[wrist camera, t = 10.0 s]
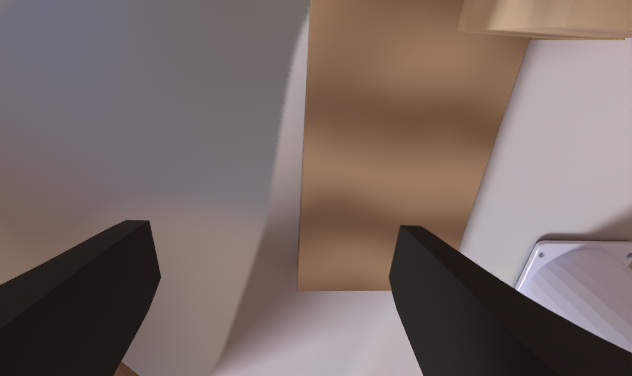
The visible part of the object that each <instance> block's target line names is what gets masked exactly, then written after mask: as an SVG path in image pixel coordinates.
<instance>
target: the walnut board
mask: <svg viewBox="0 0 632 376" xmlns="http://www.w3.org/2000/svg"><path fill="white" fill-rule="evenodd" d="M463 3H464V0H310V19H309V39H308V59H307V79H306V99H305V119H304V139H303V159H302V179H301V200H300V220H299V240H298V260H297V291H392V290H391V286H390V282H389V278H388V277H389V273H390V268H391V264H392V259H393V255H394V251H395V246H396V242H397V237H398V233H399V228H400V225H420V226H422V227H423V228H425V229H427V230H428V231H430V232H431V233H433V234H434V235H436V236H437V237H439V238H440V239H442V240H443V241H444V242H446V243H447V244H449V245H450V246H452V247H453V248H454V249H456V250H457V251H458V248H459V245H460V242H461V239H462V236H463V233H464V230H465V227H466V224H467V221H468V219H469V216H470V213H471V210H472V207H473V204H474V201H475V198H476V195H477V192H478V189H479V186H480V183H481V180H482V177H483V174H484V171H485V169H486V166H487V163H488V160H489V157H490V154H491V151H492V148H493V145H494V142H495V139H496V136H497V133H498V130H499V127H500V124H501V121H502V118H503V116H504V113H505V110H506V107H507V104H508V101H509V98H510V95H511V92H512V89H513V86H514V83H515V80H516V77H517V74H518V71H519V68H520V66H521V63H522V60H523V57H524V54H525V51H526V48H527V45H528V42H529V39H530V37H519V36H507V35H494V34H482V33H469V32H457V28H458V24H459V20H460V16H461V12H462V7H463Z"/></svg>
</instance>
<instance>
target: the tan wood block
mask: <svg viewBox="0 0 632 376" xmlns="http://www.w3.org/2000/svg"><path fill="white" fill-rule="evenodd" d="M457 32H469V33H482V34H494V35H507V36H519V37H530V40H625V38H632V0H464V3H463V7H462V12H461V16H460V20H459V24H458V28H457Z"/></svg>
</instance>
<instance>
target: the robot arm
mask: <svg viewBox="0 0 632 376" xmlns="http://www.w3.org/2000/svg"><path fill="white" fill-rule="evenodd" d="M631 261H632V242H622V241H550V240H544V241H540V242H538V243H537V244H536V245H535V247H534V249H533V251H532V253H531V255H530V257H529V259H528V262H527V264H526V266H525V268H524V270H523V272H522V274H521V276H520V278H519V280H518V283H517V285H516V287H515V289H514V288H512V287H511V286H509V285H508V284H506V283H504V282H503V281H501V280H500V279H498V278H497V277H495V276H494V275H492V274H491V273H489V272H488V271H486V270H485V269H483V268H482V267H480V266H479V265H477V264H476V263H474V262H473V261H471V260H470V259H469V258H467V257H466V256H464V255H463V254H461V253H460V252H459V251H457V250H456V249H454V248H453V247H452V246H450V245H449V244H447V243H446V242H444V241H443V240H442V239H440V238H439V237H437V236H436V235H434V234H433V233H431V232H430V231H428V230H427V229H425V228H423V227H422V226H420V225H400V228H399V233H398V237H397V242H396V246H395V251H394V255H393V259H392V264H391V268H390V273H389V277H388V278H389V282H390V286H391V290H392V294H393V298H394V301H395V305H396V309H397V311H398V314H399V316H400V319H401V321H402V324H403V326H404V329H405V331H406V334H407V336H408V339H409V341H410V344H411V346H412V349H413V351H414V354H415V356H416V359H417V361H418V363H419V366H420V368H421V371H422V373H423V376H632V269H631V268H629V267H628V266H629V264H630V263H631ZM160 279H161V274H160V270H159V265H158V260H157V255H156V251H155V246H154V241H153V236H152V231H151V227H150V222H149V221H143V220H126V221H123V222H121V223H119V224H117V225H115V226H112V227H111V228H109V229H107V230H105V231H103V232H101V233H99V234H97V235H95V236H93V237H92V238H89V239H88V240H86V241H84V242H83V243H80V244H78V245H77V246H75V247H73V248H71V249H69V250H67V251H65V252H64V253H62V254H60V255H58V256H56V257H54V258H52V259H50V260H49V261H47V262H45V263H43V264H41V265H39V266H37V267H35V268H33V269H31V270H29V271H27V272H25V273H23V274H21V275H19V276H17V277H15V278H13V279H11V280H9V281H7V282H6V283H3V284H1V285H0V376H113V375H114V374H115V372H116V370H117V368H118V366H119V364H120V363H121V360H122V359H123V357H124V355H125V353H126V352H127V350H128V348H129V346H130V344H131V342H132V340H133V339H134V337H135V335H136V333H137V331H138V329H139V327H140V326H141V324H142V322H143V320H144V318H145V316H146V314H147V312H148V310H149V308H150V305H151V303H152V300H153V298H154V295H155V293H156V290H157V287H158V284H159V282H160Z"/></svg>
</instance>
